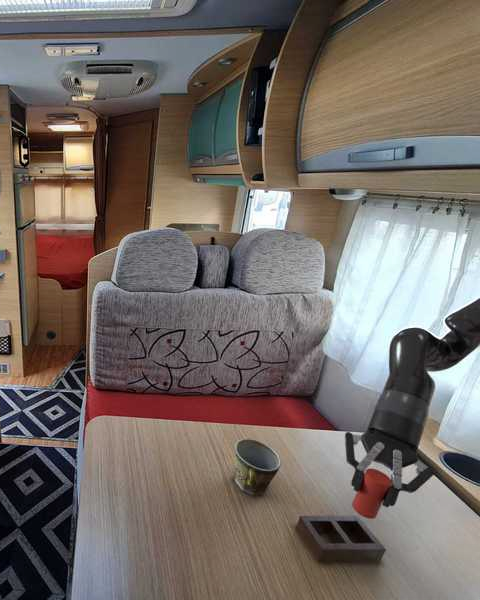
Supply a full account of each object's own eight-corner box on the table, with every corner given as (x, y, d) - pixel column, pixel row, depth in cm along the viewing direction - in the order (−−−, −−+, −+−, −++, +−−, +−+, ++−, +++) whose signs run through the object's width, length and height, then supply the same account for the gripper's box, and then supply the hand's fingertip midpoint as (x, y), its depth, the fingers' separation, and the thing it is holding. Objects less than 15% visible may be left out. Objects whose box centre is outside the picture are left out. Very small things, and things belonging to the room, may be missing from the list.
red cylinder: (373, 506, 67) (388, 473, 64) (378, 522, 64) (394, 488, 61) (350, 498, 68) (363, 465, 65) (354, 513, 65) (368, 479, 62)
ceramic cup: (232, 462, 90) (239, 432, 86) (273, 480, 84) (282, 449, 81) (221, 497, 79) (229, 466, 76) (268, 520, 74) (278, 487, 71)
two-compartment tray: (352, 528, 73) (357, 515, 71) (379, 562, 66) (386, 549, 65) (295, 528, 73) (300, 515, 71) (317, 563, 66) (322, 549, 65)
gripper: (356, 396, 69) (326, 473, 65) (455, 433, 59) (427, 525, 56) (353, 406, 74) (325, 477, 70) (443, 441, 65) (416, 525, 61)
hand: (370, 497), depth 63 cm, fingers closed on red cylinder, 3 cm apart
